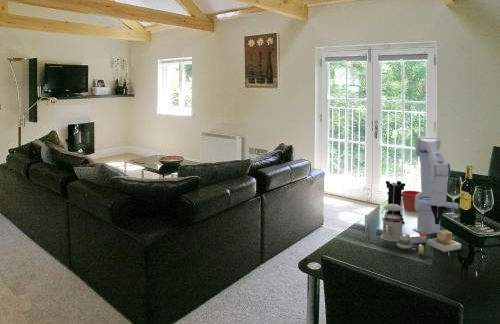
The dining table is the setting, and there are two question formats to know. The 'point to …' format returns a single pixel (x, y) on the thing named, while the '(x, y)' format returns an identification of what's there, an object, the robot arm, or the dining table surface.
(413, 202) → the flower pot
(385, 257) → the dining table surface
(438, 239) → the block
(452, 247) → the tray
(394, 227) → the french press
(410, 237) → the crank
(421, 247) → the crank base
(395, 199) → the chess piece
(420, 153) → the robot arm
